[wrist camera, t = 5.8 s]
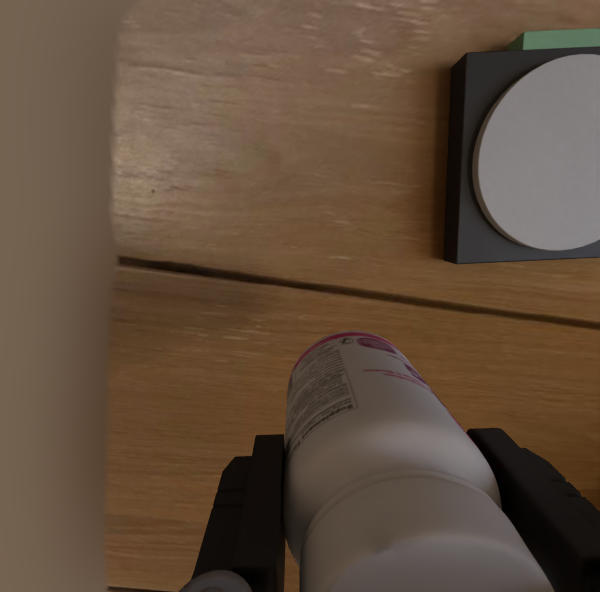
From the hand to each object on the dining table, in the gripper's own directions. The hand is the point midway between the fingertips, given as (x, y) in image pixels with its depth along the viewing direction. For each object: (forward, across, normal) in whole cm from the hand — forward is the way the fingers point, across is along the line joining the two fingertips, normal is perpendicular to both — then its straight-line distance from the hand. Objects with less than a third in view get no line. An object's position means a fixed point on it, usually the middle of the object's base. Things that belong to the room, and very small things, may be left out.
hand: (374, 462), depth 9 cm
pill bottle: (+5, 0, 0) cm, 5 cm away
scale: (+18, -15, -10) cm, 26 cm away
